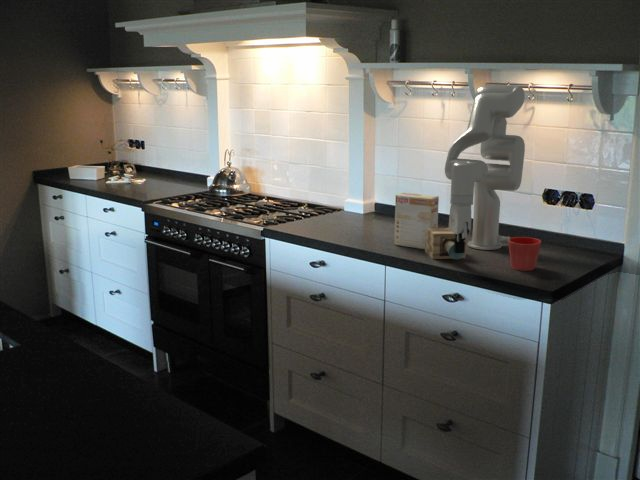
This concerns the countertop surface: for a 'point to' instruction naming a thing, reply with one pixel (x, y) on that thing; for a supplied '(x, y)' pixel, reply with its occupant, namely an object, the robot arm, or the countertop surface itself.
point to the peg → (451, 249)
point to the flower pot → (523, 252)
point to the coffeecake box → (414, 218)
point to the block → (438, 242)
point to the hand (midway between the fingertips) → (459, 252)
